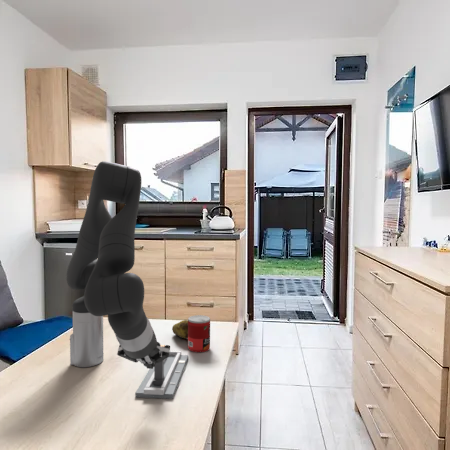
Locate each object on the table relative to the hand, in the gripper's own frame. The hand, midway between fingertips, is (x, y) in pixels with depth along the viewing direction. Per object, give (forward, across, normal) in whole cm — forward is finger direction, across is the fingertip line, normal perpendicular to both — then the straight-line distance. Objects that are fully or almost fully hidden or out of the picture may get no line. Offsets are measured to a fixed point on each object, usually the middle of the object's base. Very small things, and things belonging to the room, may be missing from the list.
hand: (151, 364), depth 90 cm
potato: (+39, 0, -25) cm, 47 cm away
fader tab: (+12, 0, 0) cm, 12 cm away
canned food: (+33, -7, -18) cm, 39 cm away
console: (+18, 0, -4) cm, 18 cm away
